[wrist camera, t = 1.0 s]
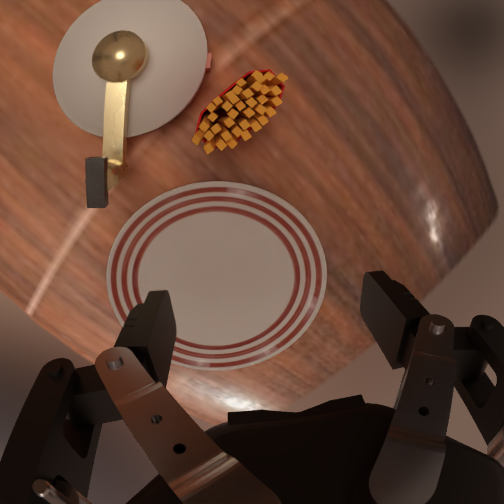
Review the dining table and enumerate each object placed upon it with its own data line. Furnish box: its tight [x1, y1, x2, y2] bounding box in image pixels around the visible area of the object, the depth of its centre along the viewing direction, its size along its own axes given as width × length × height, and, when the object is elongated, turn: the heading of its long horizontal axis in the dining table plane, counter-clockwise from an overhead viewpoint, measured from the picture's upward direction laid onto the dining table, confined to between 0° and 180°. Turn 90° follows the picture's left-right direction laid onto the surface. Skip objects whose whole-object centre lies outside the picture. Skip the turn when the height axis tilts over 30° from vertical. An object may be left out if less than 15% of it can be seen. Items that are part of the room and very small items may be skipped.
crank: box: [85, 30, 149, 208], centre depth 22 cm, size 16×5×7 cm, turn 174°
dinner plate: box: [106, 181, 327, 371], centre depth 38 cm, size 27×27×3 cm
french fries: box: [192, 69, 289, 154], centre depth 25 cm, size 8×4×12 cm, turn 131°
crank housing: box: [53, 0, 212, 137], centre depth 25 cm, size 16×16×4 cm
